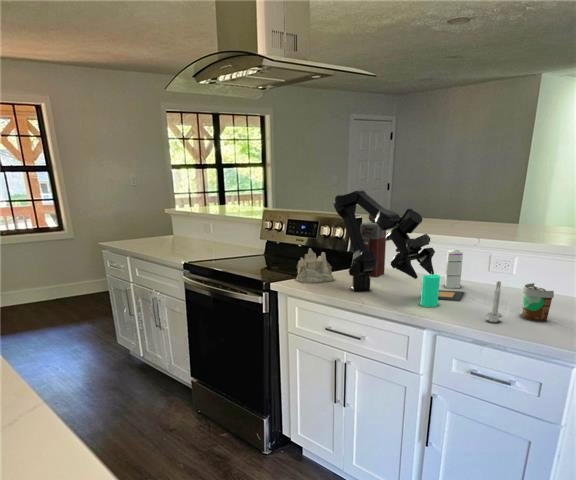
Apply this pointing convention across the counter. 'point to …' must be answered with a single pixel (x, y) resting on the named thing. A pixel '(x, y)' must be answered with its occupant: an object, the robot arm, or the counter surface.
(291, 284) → the counter surface
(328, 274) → the sand castle
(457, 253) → the grey tower
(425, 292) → the candle
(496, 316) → the screw
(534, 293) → the food container
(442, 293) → the mat
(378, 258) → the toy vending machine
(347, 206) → the robot arm
